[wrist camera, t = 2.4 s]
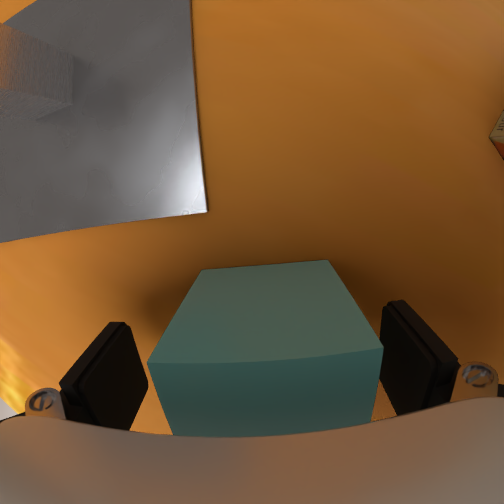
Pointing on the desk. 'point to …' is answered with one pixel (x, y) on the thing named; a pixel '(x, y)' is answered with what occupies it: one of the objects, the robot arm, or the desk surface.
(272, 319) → the teal rectangular block
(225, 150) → the desk surface
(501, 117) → the shoe polish box
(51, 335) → the desk surface
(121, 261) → the desk surface
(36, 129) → the silver metal plate
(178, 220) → the desk surface
